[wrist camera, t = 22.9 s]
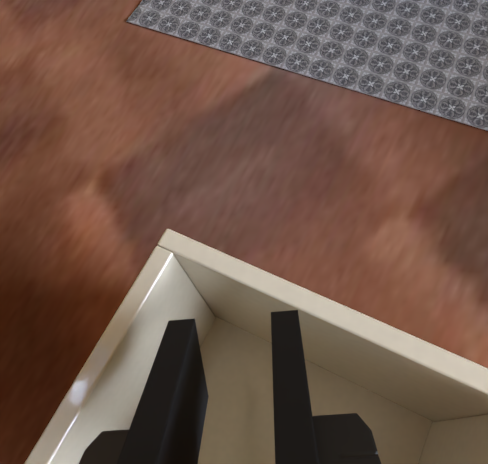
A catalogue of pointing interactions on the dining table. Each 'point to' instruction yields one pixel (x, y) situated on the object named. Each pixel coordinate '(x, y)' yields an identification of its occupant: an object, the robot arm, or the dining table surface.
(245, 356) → the beige square open box
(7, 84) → the dining table surface
